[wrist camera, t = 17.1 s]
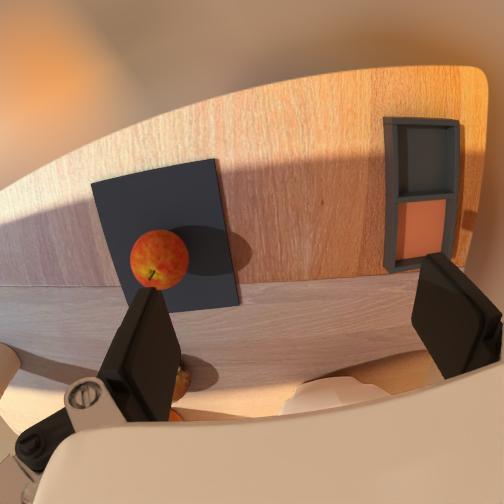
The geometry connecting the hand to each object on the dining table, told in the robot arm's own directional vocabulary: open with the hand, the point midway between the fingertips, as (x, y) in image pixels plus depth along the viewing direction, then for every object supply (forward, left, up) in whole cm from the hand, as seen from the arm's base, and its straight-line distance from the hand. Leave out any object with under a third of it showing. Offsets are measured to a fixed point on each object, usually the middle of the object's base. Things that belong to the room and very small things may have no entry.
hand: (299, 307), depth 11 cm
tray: (+5, +21, -28) cm, 35 cm away
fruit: (+8, -13, -28) cm, 32 cm away
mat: (+8, -13, -28) cm, 32 cm away
